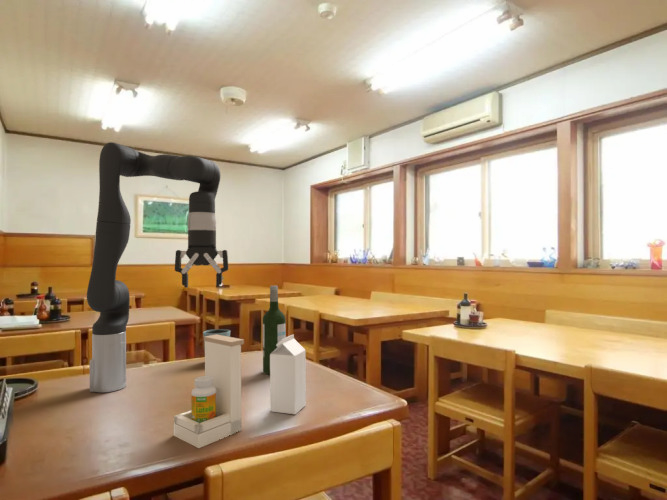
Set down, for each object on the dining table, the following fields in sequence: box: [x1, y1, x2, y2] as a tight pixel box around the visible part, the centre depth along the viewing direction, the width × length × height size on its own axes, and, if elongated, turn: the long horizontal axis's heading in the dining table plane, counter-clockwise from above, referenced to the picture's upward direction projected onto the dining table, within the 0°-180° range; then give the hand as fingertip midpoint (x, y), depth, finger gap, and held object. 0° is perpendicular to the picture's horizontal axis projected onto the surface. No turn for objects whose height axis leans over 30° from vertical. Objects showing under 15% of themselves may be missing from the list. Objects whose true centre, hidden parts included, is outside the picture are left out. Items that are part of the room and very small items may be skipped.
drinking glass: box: [202, 328, 231, 351], centre depth 158 cm, size 10×10×12 cm
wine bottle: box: [262, 285, 287, 376], centre depth 144 cm, size 8×8×30 cm
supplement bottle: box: [190, 375, 216, 423], centre depth 94 cm, size 5×5×10 cm
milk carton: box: [269, 333, 307, 415], centre depth 109 cm, size 7×7×19 cm
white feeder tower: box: [173, 334, 245, 449], centre depth 95 cm, size 12×11×21 cm
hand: (202, 287), depth 116 cm, fingers open, 8 cm apart
